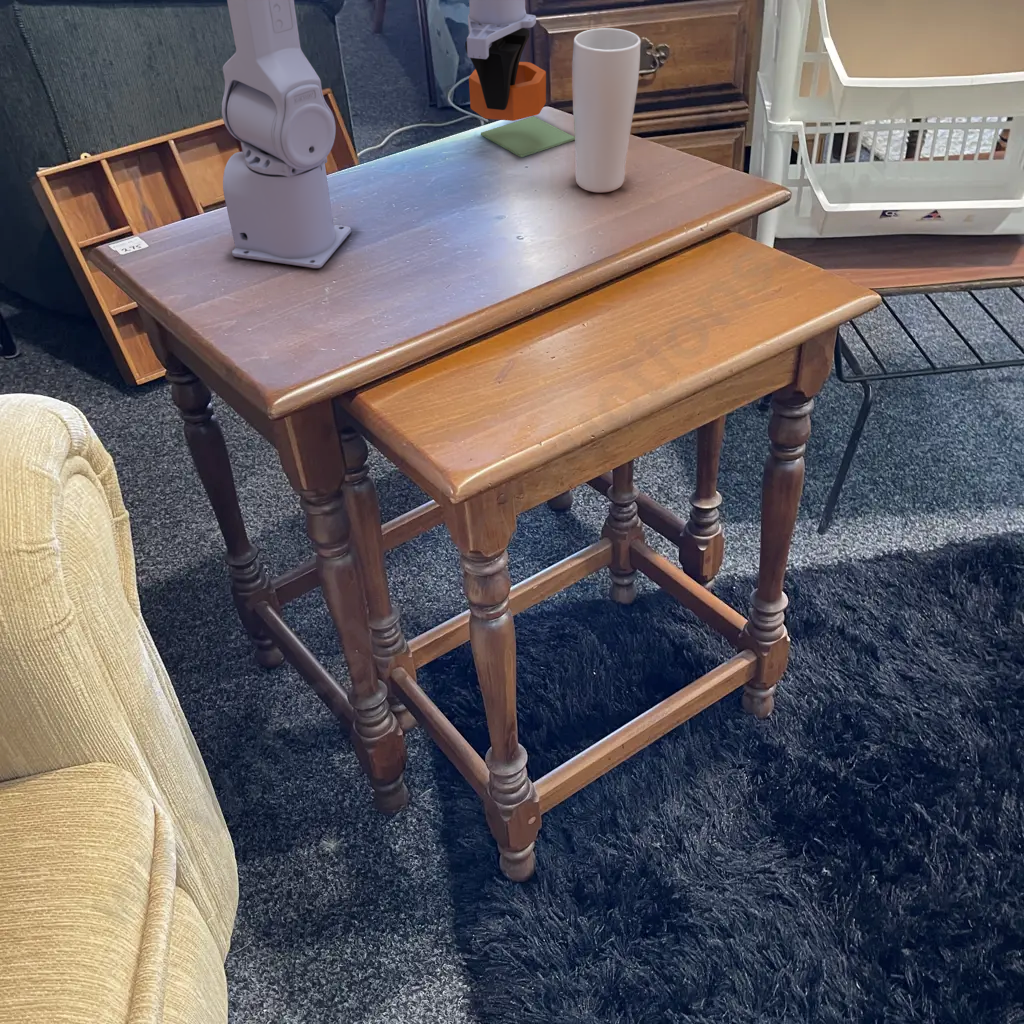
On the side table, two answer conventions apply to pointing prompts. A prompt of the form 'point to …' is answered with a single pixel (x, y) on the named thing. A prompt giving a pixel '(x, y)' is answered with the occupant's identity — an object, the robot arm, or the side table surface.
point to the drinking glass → (603, 104)
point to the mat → (527, 136)
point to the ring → (513, 95)
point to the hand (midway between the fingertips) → (499, 105)
